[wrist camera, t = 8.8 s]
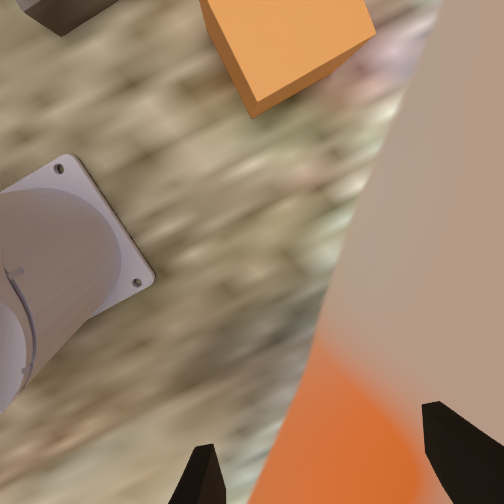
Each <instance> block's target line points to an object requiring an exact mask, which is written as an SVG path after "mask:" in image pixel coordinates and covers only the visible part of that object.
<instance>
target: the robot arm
mask: <svg viewBox="0 0 504 504" xmlns="http://www.w3.org/2000/svg"><path fill="white" fill-rule="evenodd" d="M59 164H61V165H62V166H63V167H64V172H63V174H61V173H60V172H59V171H58V169H57V168H58V165H59ZM134 279H139V280H141V282H142V285H137V284H136V283H135V282H134ZM154 280H155V275H154V272H153V271H152V269H151V268H150V266H149V265H148V263H147V262H146V260H145V259H144V257H143V256H142V254H141V253H140V251H139V250H138V248H137V247H136V245H135V244H134V242H133V241H132V239H131V238H130V236H129V235H128V233H127V232H126V230H125V229H124V227H123V226H122V224H121V223H120V221H119V220H118V218H117V217H116V215H115V214H114V212H113V211H112V209H111V208H110V206H109V204H108V203H107V201H106V200H105V198H104V197H103V195H102V194H101V192H100V191H99V189H98V188H97V186H96V185H95V183H94V182H93V180H92V179H91V177H90V176H89V174H88V173H87V171H86V170H85V168H84V167H83V165H82V164H81V162H80V161H79V159H78V158H77V157H76V156H74V155H72V154H63V155H61V156H59V157H57V158H56V159H54V160H52V161H51V162H49V163H47V164H46V165H44V166H42V167H41V168H39V169H37V170H36V171H34V172H32V173H31V174H29V175H27V176H26V177H24V178H22V179H21V180H19V181H17V182H16V183H14V184H12V185H11V186H9V187H7V188H6V189H4V190H2V191H1V192H0V414H1V413H2V412H3V411H4V410H5V409H6V408H7V407H8V406H9V405H10V404H11V402H12V401H13V400H14V399H15V397H16V396H17V395H18V394H19V393H20V392H21V391H22V390H23V389H24V388H25V387H26V385H27V384H28V383H29V382H30V381H31V380H32V379H33V378H34V377H35V376H36V375H37V373H38V372H39V371H40V370H41V369H42V368H43V367H44V366H45V365H46V364H47V363H48V361H49V360H50V359H51V358H52V357H53V356H54V355H55V354H56V353H57V352H58V351H59V349H60V348H61V347H62V346H63V345H64V344H65V343H66V342H67V341H68V340H69V339H70V337H71V336H72V335H73V334H74V333H75V332H76V331H77V330H78V329H79V328H80V327H81V326H82V324H83V323H84V322H85V321H86V320H88V319H90V318H91V317H93V316H95V315H97V314H99V313H101V312H103V311H104V310H106V309H108V308H110V307H112V306H114V305H116V304H117V303H119V302H121V301H123V300H125V299H127V298H129V297H130V296H132V295H134V294H136V293H138V292H140V291H142V290H143V289H145V288H147V287H149V286H150V285H152V284H153V282H154ZM422 416H423V430H424V443H425V453H426V455H427V457H428V459H429V461H430V463H431V465H432V467H433V469H434V471H435V473H436V475H437V477H438V479H439V481H440V483H441V485H442V486H443V488H444V489H445V491H446V493H447V494H448V496H449V497H450V499H451V500H452V502H453V504H504V446H502V445H501V444H500V443H498V442H497V441H495V440H494V439H492V438H491V437H489V436H488V435H486V434H485V433H483V432H482V431H481V430H479V429H478V428H476V427H475V426H474V425H472V424H471V423H469V422H468V421H467V420H465V419H464V418H462V417H461V416H460V415H458V414H457V413H456V412H454V411H453V410H451V409H450V408H449V407H447V406H446V405H444V404H443V403H441V402H440V401H438V402H432V403H427V404H422ZM168 504H226V487H225V484H224V480H223V477H222V473H221V470H220V466H219V463H218V459H217V455H216V452H215V448H214V445H213V444H208V445H202V446H197V447H195V448H194V450H193V452H192V454H191V457H190V459H189V461H188V463H187V466H186V468H185V470H184V472H183V475H182V477H181V479H180V481H179V483H178V485H177V487H176V489H175V491H174V493H173V495H172V497H171V499H170V501H169V503H168Z"/></svg>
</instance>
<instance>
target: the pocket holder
mask: <svg viewBox="0 0 504 504" xmlns="http://www.w3.org/2000/svg"><path fill="white" fill-rule="evenodd" d="M16 1H17V3H18V5H19V6H20V8H21V9H22V11H23V12H24V13H25V14H27V15H29V16H30V17H32V18H33V19H35V20H36V21H38V22H39V23H41V24H42V25H44V26H45V27H47V28H48V29H50V30H51V31H53V32H54V33H56V34H57V35H59V36H60V37H61V36H63V35H65V34H66V33H68V32H69V31H71V30H72V29H74V28H75V27H77V26H79V25H80V24H82V23H83V22H85V21H86V20H88V19H90V18H91V17H93V16H94V15H96V14H97V13H99V12H100V11H102V10H104V9H105V8H107V7H108V6H110V5H111V4H113V3H115V2H116V1H118V0H16Z"/></svg>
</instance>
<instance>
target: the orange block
mask: <svg viewBox="0 0 504 504" xmlns="http://www.w3.org/2000/svg"><path fill="white" fill-rule="evenodd" d="M199 1H200V5H201V9H202V13H203V17H204V21H205V24H206V28H207V31H208V33H209V35H210V37H211V39H212V41H213V43H214V45H215V47H216V49H217V51H218V53H219V55H220V57H221V59H222V61H223V63H224V65H225V67H226V69H227V71H228V73H229V75H230V77H231V79H232V81H233V83H234V85H235V87H236V89H237V91H238V93H239V95H240V97H241V99H242V101H243V103H244V105H245V107H246V109H247V111H248V113H249V115H250V117H251V119H252V118H254V117H256V116H257V115H259V114H261V113H263V112H264V111H266V110H268V109H270V108H272V107H273V106H275V105H277V104H279V103H280V102H282V101H284V100H286V99H287V98H289V97H291V96H293V95H294V94H296V93H298V92H300V91H301V90H303V89H305V88H307V87H308V86H310V85H312V84H314V83H315V82H317V81H319V80H321V79H322V78H324V77H326V76H328V75H329V74H331V73H332V72H333V71H335V70H336V69H337V68H338V67H339V66H340V65H341V64H342V63H344V62H345V61H346V60H347V59H348V58H349V57H350V56H352V55H353V54H354V53H355V52H356V51H357V50H358V49H360V48H361V47H362V46H363V45H364V44H365V43H366V42H367V41H369V40H370V39H371V38H372V37H373V36H374V35H375V34H376V31H375V29H374V26H373V24H372V21H371V18H370V16H369V13H368V10H367V8H366V5H365V3H364V0H199Z"/></svg>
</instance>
